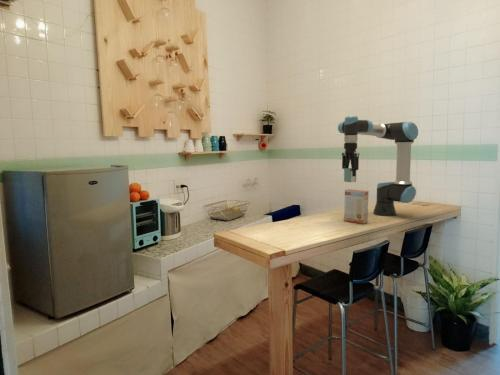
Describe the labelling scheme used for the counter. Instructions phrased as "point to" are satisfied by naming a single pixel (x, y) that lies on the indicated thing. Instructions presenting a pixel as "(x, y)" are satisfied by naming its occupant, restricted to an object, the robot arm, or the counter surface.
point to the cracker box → (356, 206)
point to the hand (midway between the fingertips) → (349, 181)
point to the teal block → (348, 175)
